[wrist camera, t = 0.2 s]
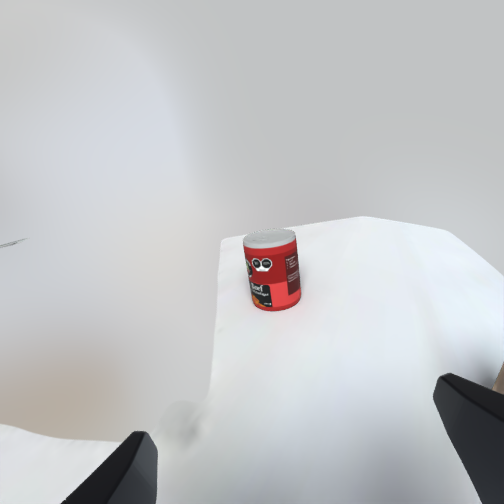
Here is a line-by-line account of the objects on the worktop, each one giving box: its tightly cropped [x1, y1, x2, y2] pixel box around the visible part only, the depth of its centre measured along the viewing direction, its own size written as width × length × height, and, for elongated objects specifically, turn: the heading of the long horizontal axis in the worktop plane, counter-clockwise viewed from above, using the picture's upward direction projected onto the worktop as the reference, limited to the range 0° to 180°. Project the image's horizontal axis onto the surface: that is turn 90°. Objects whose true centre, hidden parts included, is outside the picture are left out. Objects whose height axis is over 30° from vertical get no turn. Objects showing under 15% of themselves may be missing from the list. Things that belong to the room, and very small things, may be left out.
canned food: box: [243, 229, 301, 311], centre depth 47 cm, size 8×8×11 cm
